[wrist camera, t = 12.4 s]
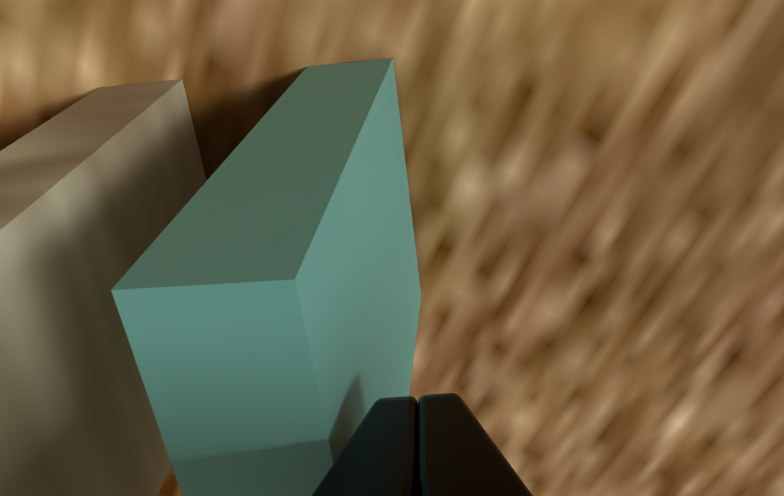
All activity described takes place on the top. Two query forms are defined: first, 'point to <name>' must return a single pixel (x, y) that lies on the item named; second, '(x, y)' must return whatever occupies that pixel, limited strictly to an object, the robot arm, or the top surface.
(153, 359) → the teal domino
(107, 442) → the domino
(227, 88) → the top surface
